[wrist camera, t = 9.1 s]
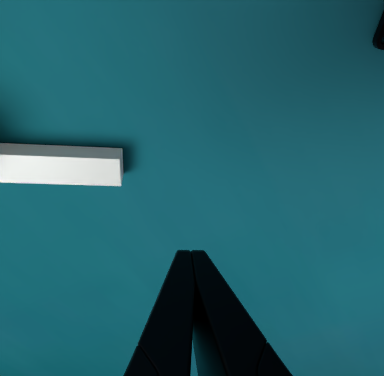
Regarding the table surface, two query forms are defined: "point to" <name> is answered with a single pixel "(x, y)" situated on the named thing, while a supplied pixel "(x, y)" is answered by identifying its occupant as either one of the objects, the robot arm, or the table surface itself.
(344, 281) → the table surface
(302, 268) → the table surface
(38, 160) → the collar track
